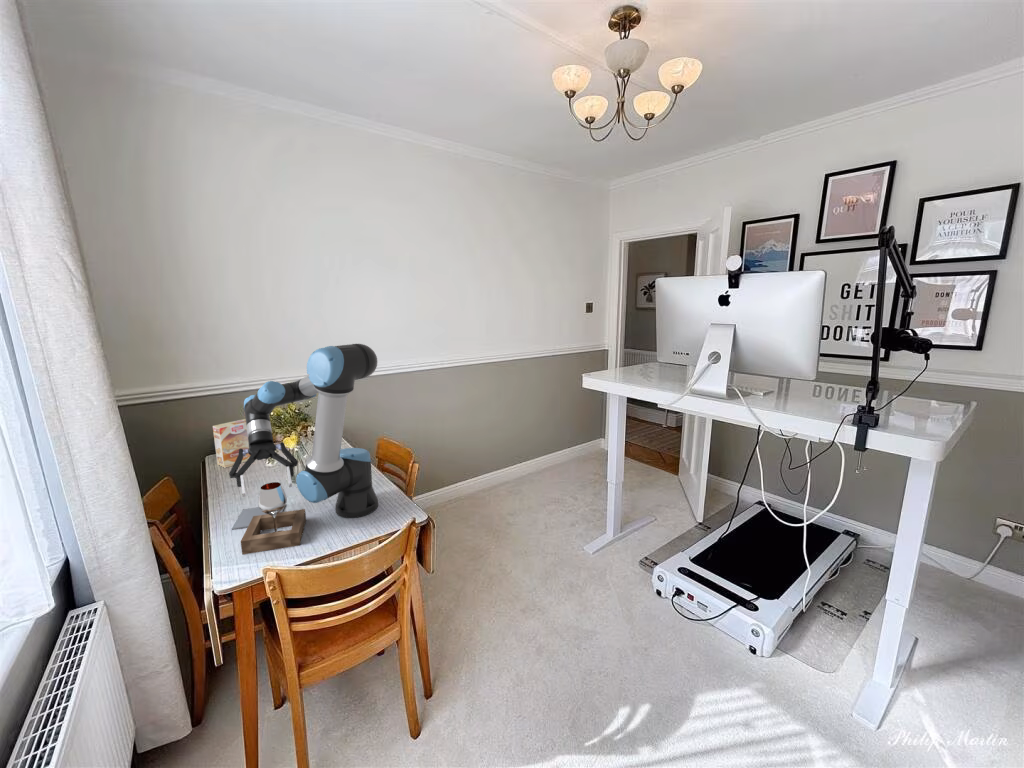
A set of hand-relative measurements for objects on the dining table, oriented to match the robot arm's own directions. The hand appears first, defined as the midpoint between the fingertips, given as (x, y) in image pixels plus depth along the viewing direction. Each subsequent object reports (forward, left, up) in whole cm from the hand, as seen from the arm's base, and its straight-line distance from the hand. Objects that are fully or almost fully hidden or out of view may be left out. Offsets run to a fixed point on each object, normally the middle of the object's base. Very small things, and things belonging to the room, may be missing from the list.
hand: (267, 490), depth 139 cm
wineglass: (-2, +5, -15) cm, 16 cm away
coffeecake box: (+28, -73, -15) cm, 79 cm away
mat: (+6, -11, -14) cm, 19 cm away
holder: (-2, +5, -14) cm, 16 cm away
